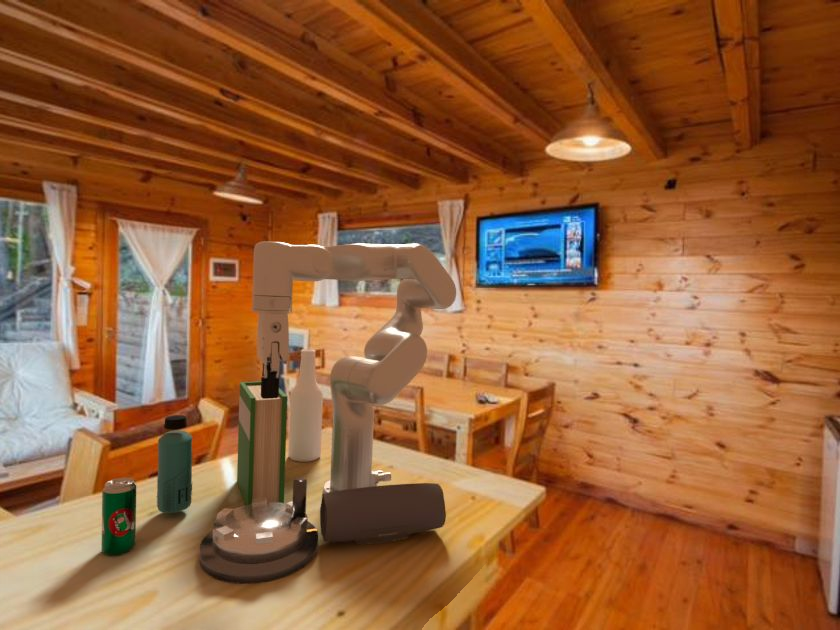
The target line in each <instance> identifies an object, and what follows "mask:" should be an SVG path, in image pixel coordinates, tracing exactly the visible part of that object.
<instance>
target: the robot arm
mask: <svg viewBox="0 0 840 630" xmlns="http://www.w3.org/2000/svg"><path fill="white" fill-rule="evenodd" d="M252 269H253V270H252V271H253V273H252V275H253V276H252V302H251V303H252V304H251V306H252V308H251V312H252V313H257V330H256V331H257V334H256V336H257V337H256V339H257V341H256V343H257V344H256V347H257V349H256V350H257V351H256V354H257V359H258V360H259V361H260V362H261V379H260V381H261V397H262V398H263V399H269V398H278V397H279V388H280V364H281V362H282V363H283V364H284V365H287V364H288V363H289V362H290V334H289V333H290V329H289V326H290V325H289V314H293V293H294V292H293V289H294V282H309V283H310V282H311V283H312V282H313V283H314V282H321V281H322V280H333V281H334V280H335V281H336V280H337V281H345V282H365V281H368V282H369V281H383V280H384V281H386V280H387V281H388V280H401V281H400V283H399V284H398V286H397V290H396V310H395V312H394V314H393V316H391V318H390V319H389V320H388V321H387V322H386V323H385V324H384V325H383V326H382V327H380V328H379V330H378V331H376V332H375V333H373V335H372V336H371V337H370V338H369V339H368V340H367V342H366V344H365V346H364V349H363V350H364V352H363V354H364V357H363V356H357V355H356V356H355V355H350V356H349V355H348V356H344V357H342V358H341V357H340V358H339V359H338V360H337V361H336V362H335V363H334V364H333V366H332V368H331V370H330V374H329V375H330V376H329V386H330V391H331V399H332V425H331V427H332V428H331V429H332V431H331V456H330V457H331V458H330V478H329V480H328V481H326V482H325V483H324V485H323V490H322V491H323V494H325V493H329V492H334V491H341V490H348V489H356V488H364V487H373V486H378V484H379V482H380V483H381V482H384V483H385V482H390V481H391V480H392V474H391V472H390V471H389V472H383V470H376V471H374V470H373V469H372V467H373V448H374V447H373V445H374V426H375V416H374V415H375V414H374V407H373V405H377V406H384V405H387V404H389V403H391V402H392V401H393V400H394V399H396V398H397V397H398V396H399V395H400V393H402V392H403V390H404V389H405V388H406V387H407V386H408V385H409V384H410V383H411V382H412V381H413V380H414V379H415V377H416V376H417V375H418V374H419V373H420V372H421V371H422V369H423V367H424V366H425V364H426V361H427V358H428V348H427V343H426V341H425V340H424V338H423V337H422V336H421V335H422V332H423V330H424V326H423V325H424V324H423V318H422V309H429V310H430V309H431V310H446V309H448V308H450V307H452V305H454V302H455V301H456V298H457V288H456V284H455V282H454V279H453V278H452V276H451V275H450V274H449V272H448V271H447V270H446V268H445V267H444V266H443V264H442V262H441V261H439V258H437V256H436V255H435V254H434V253H433V252H432V250H430V249H429V248H428V247H427V246H425V245H423V244H421V243H405V244H400V243H399V244H385V243H383V244H378V243H349V244H348V243H346V244H339V245H330V246H329V245H327V246H325V245H324V246H323V245H322V246H321V245H318V244H290V243H286V242H281V241H270V240H269V241H268V240H267V241H259V242H257V243H255V245H254V248H253V268H252Z"/></svg>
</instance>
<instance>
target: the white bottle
mask: <svg viewBox="0 0 840 630" xmlns="http://www.w3.org/2000/svg"><path fill="white" fill-rule="evenodd" d="M300 352H301V354H300V365H299V374H298V380H297V382H296V384H295V385H294V386H293V388H292V389H291V392H290V396H289V398H290V400H289V424H288V425H289V426H288V427H289V428H288V451H287V452H288V457H289V458H290V460H292V461H294V462H297V463H298V462H299V463H309V462H313V461H316V460H318V459H319V457H320V456H321V453H322V434H323V433H322V431H323V429H322V428H323V409H324V408H323V403H324V401H323V400H324V394H323V389H322V387H321V386H320V385H319V384H318V382H317V374H316V373H317V372H316V370H317V369H316V352H317V351H316V349H312V348H304V349H301V350H300Z"/></svg>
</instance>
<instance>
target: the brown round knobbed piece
mask: <svg viewBox="0 0 840 630" xmlns="http://www.w3.org/2000/svg"><path fill="white" fill-rule="evenodd" d="M292 481H293V482H292V483H293V484H292V500H291V501H289V502H284V503H278V502H267V498H266V497H264V498H254V499H252V504H249V505H245V504H244V505H242V506H238V507H236V508H227V507H224V508H222V510H221V511H218V512H217V514H216V520H215V522H214V523H213V526H212V530H213V544H212V545H213V550H214V551H215V553H216V554H217V555H218V556H220V557H222V558H224V559H226V560H229V561H233V562H239V563H259V562H266V561H271V560H275V559H279V558H282V557H284V556H287V555H289V554H291V553H293V552H294V551H296V550H297V549H299V548H300V547H301V546H302V545H303V544H304V542H305V541H306V538H307V522H309V520H308V514H307V513H306V512H307V511H306V510H307V507H306V506H307V486H308V485H307V484H308V483H307V482H308V480H307V479H306V478H303V477H302V478H301V477H297V478H295V479H293V480H292Z"/></svg>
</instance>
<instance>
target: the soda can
mask: <svg viewBox="0 0 840 630" xmlns="http://www.w3.org/2000/svg"><path fill="white" fill-rule="evenodd" d="M101 494H102V495H101V547H100V549H101V552H102V553H103V554H105V555H106V556H112V557H113V556H120V555H121V556H122V555H123V554H126V553H128V552H130V551H131V550H132V549H133V548H134V547H135V545H136V537H137V536H136V531H137V528H136V526H137V484H136V482H135V479H134V478H132V477H119V478H112V479H111V480H109V481H107V482H106V483H105V484H104V487H103V489H102V490H101Z"/></svg>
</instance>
